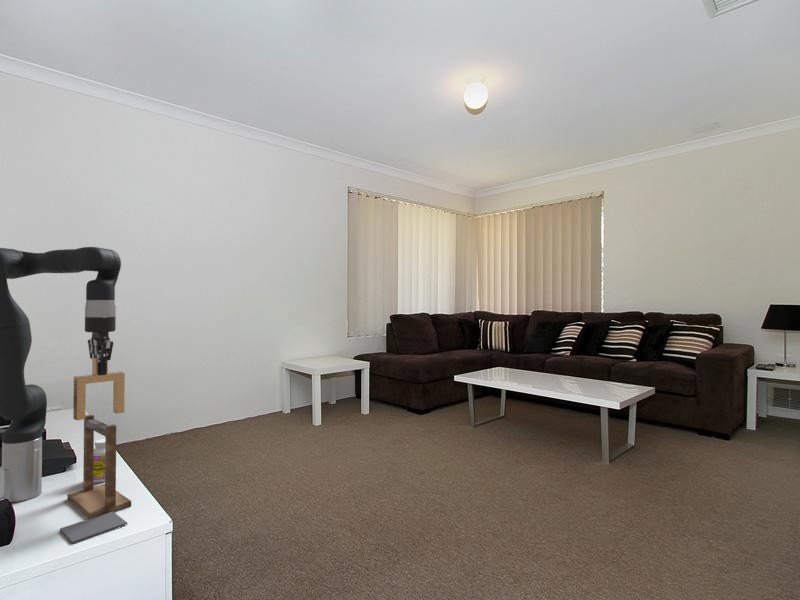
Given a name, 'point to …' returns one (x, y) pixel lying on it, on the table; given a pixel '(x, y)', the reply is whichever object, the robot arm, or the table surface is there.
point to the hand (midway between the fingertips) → (100, 374)
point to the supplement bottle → (99, 461)
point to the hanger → (81, 382)
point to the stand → (105, 495)
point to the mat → (92, 527)
